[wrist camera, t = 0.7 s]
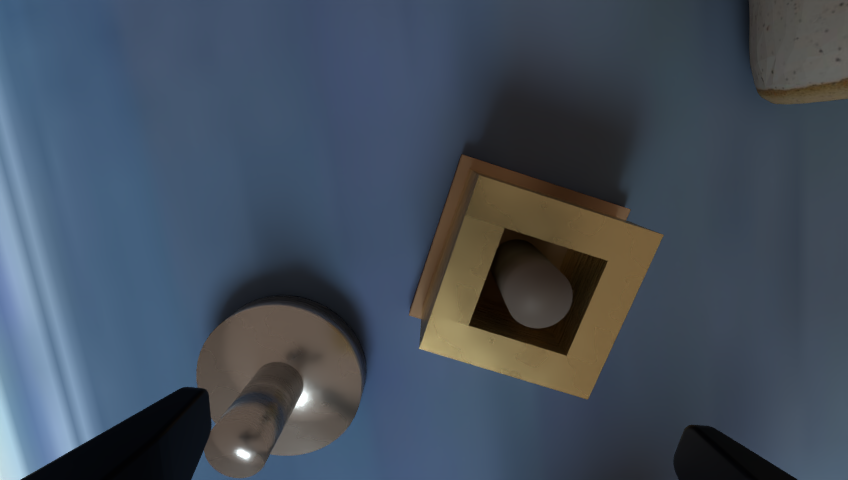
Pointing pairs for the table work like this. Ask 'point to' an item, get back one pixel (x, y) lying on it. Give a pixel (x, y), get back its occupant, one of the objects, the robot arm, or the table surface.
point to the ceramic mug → (799, 50)
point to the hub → (278, 382)
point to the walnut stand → (515, 254)
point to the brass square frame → (582, 265)
